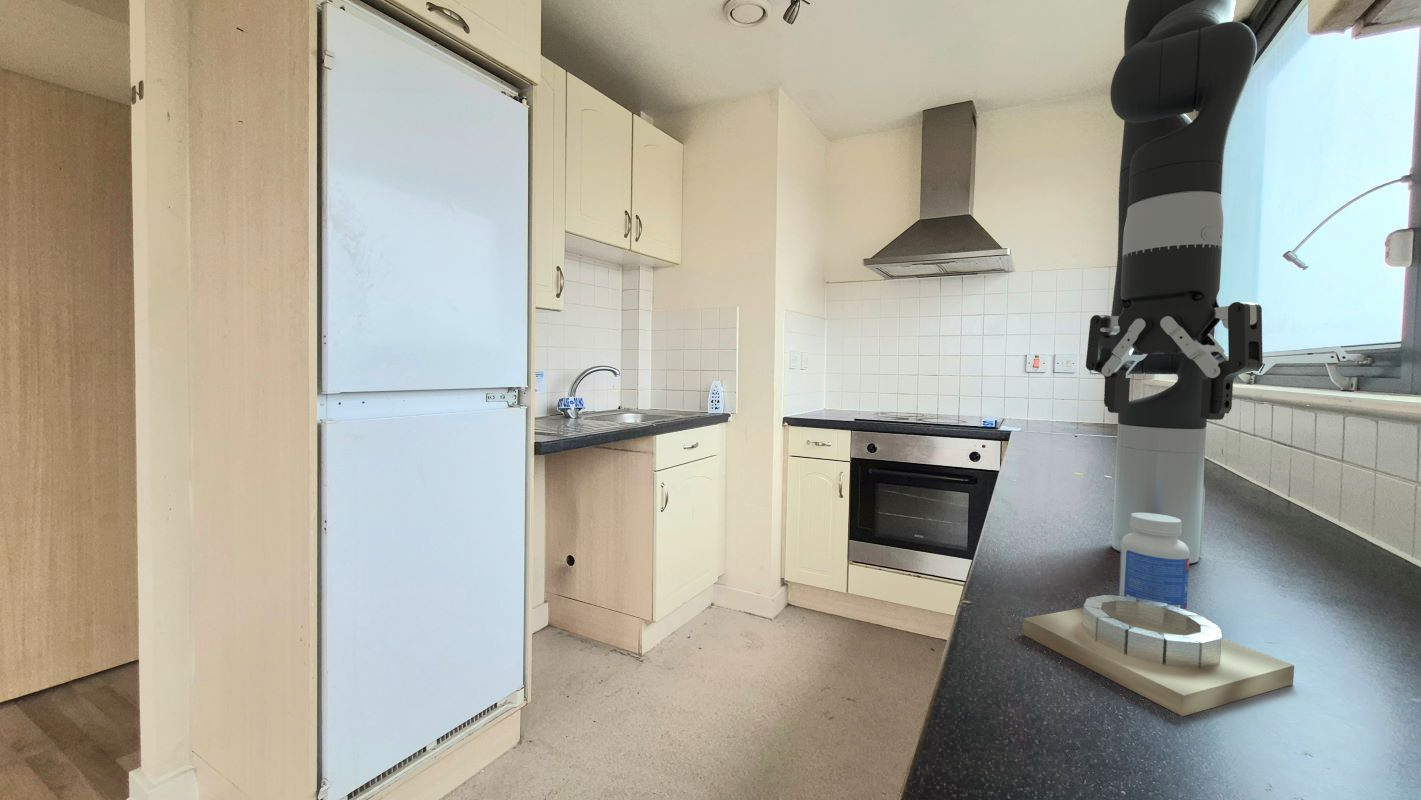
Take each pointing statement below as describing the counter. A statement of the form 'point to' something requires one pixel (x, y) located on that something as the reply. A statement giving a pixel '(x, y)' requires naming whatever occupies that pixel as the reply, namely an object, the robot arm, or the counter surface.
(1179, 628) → the steel collar
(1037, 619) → the carrier plate
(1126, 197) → the robot arm
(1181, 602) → the pill bottle
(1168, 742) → the counter surface
